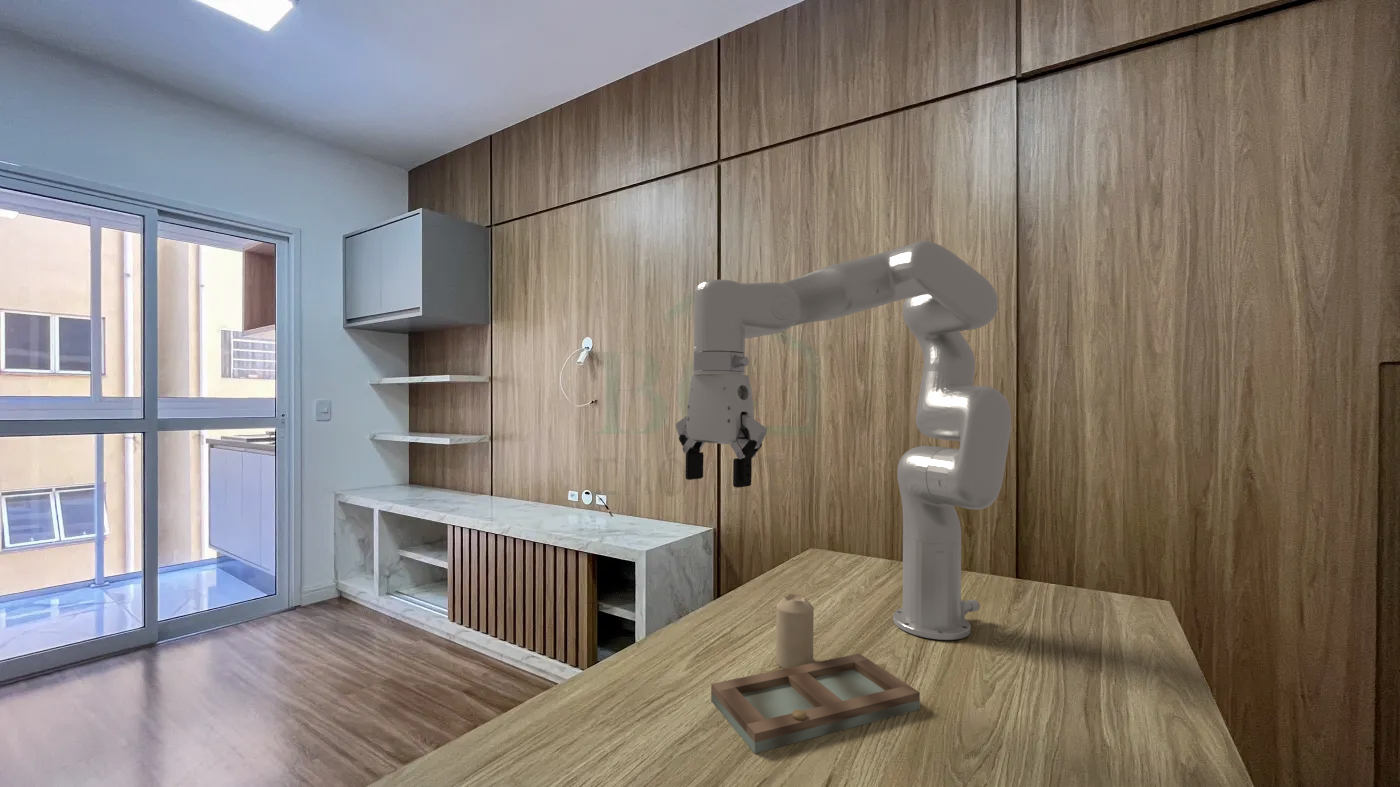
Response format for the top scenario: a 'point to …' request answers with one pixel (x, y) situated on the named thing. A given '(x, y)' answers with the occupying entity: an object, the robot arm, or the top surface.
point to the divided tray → (811, 700)
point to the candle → (794, 631)
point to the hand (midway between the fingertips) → (717, 482)
